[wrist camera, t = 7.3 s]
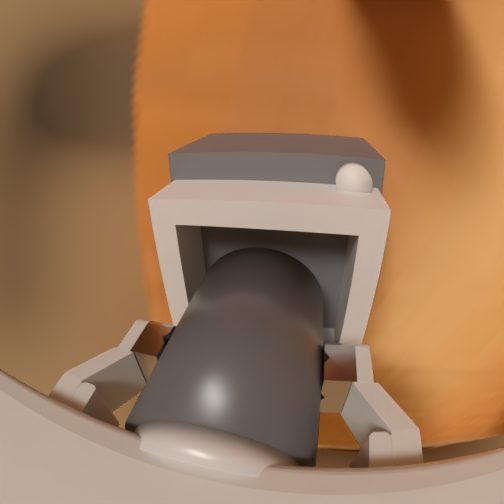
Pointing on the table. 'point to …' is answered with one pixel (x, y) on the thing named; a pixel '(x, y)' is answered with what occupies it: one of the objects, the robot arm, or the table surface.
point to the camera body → (277, 216)
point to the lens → (240, 369)
